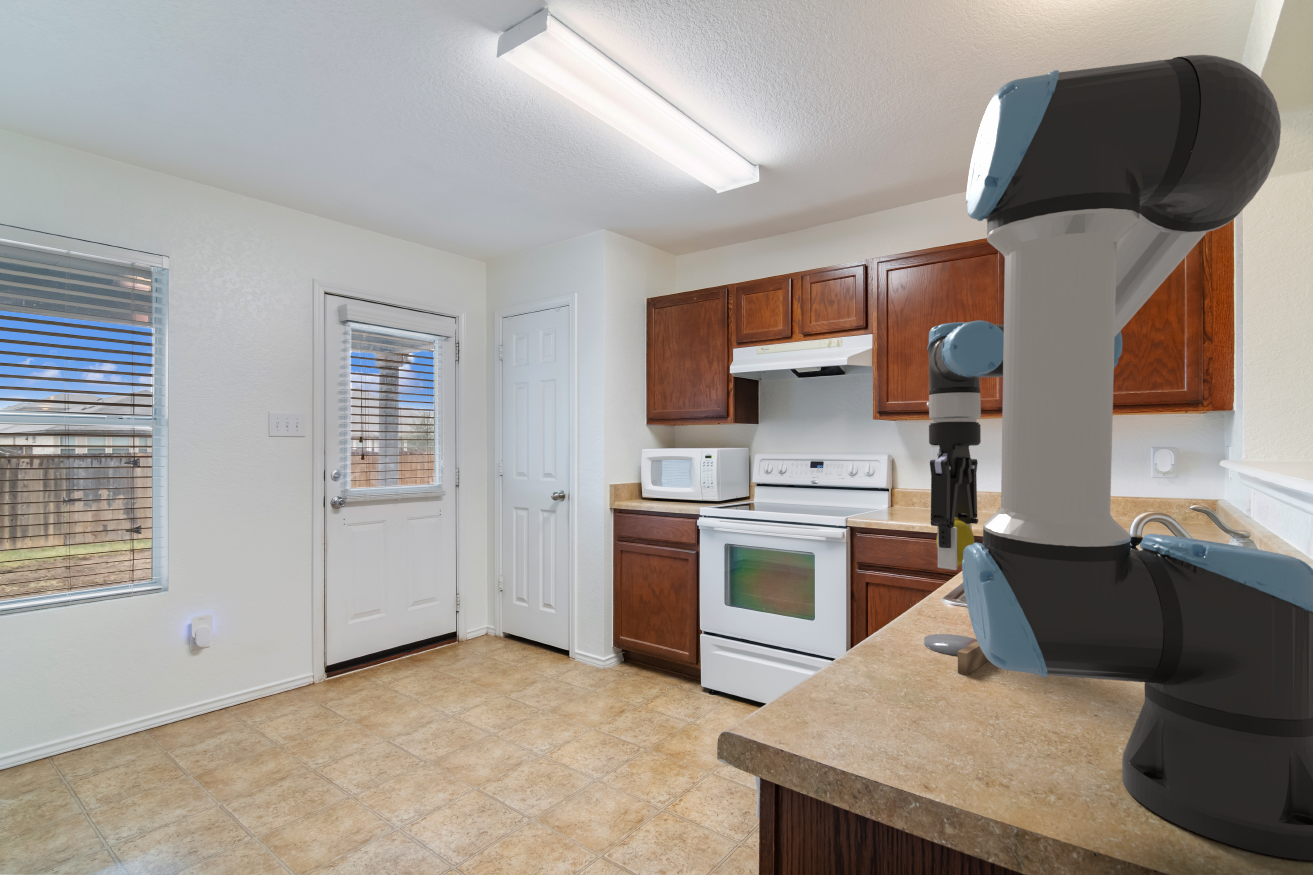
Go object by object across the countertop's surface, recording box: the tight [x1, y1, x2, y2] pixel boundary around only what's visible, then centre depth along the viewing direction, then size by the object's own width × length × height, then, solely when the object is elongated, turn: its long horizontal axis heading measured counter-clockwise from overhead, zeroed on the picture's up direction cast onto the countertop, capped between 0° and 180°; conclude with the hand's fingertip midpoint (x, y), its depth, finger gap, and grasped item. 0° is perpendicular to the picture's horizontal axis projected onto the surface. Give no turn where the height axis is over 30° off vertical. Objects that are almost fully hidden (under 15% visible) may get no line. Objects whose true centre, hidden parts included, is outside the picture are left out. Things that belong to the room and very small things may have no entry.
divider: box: [957, 641, 990, 676], centre depth 95 cm, size 18×1×3 cm, turn 134°
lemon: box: [936, 518, 976, 568], centre depth 102 cm, size 6×6×8 cm
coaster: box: [923, 633, 977, 656], centre depth 101 cm, size 9×9×1 cm
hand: (955, 565), depth 102 cm, fingers closed on lemon, 5 cm apart
